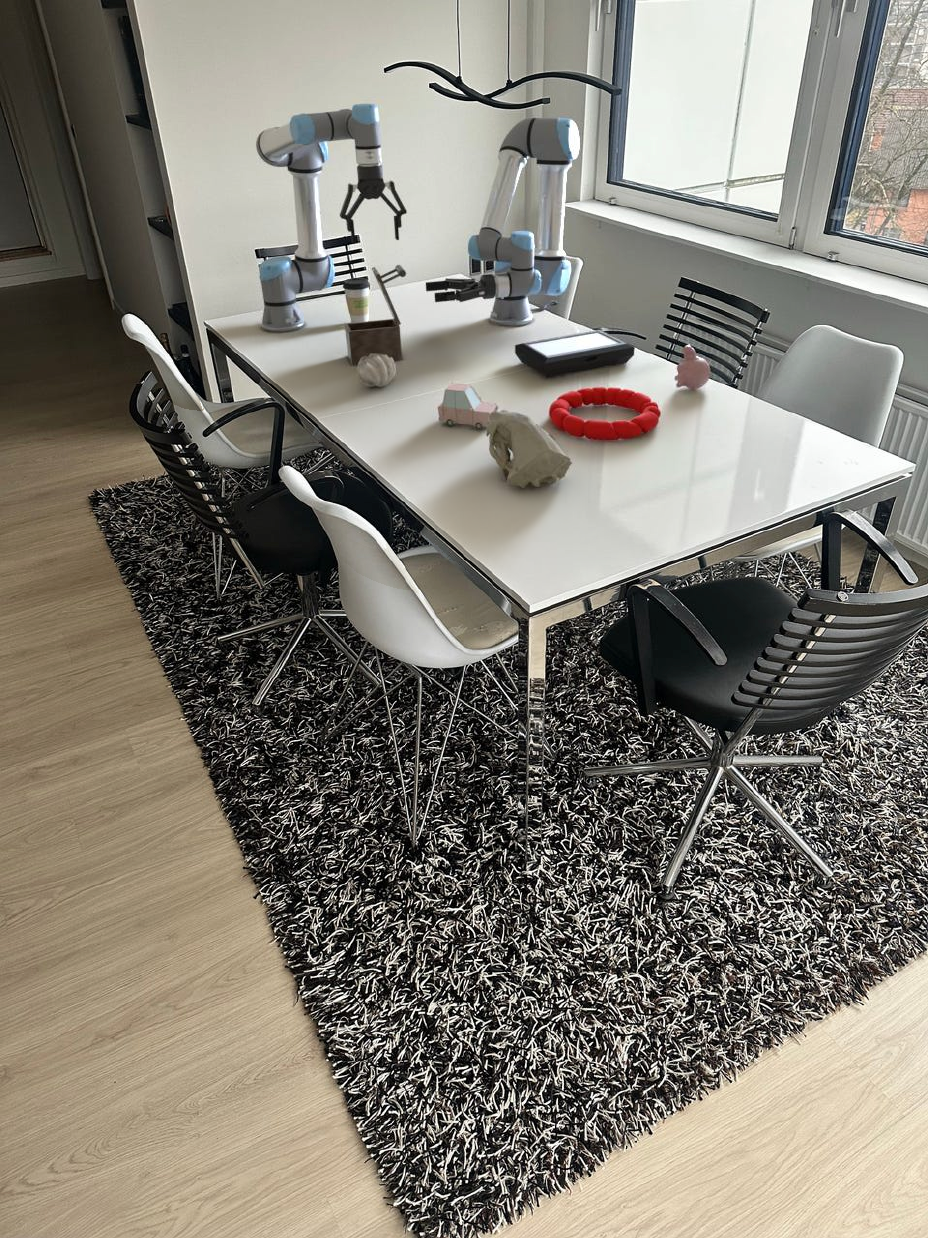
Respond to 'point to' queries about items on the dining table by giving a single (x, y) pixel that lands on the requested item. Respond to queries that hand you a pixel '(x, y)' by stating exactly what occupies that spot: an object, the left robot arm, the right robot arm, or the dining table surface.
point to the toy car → (465, 406)
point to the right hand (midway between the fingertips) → (430, 292)
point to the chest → (373, 339)
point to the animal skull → (525, 450)
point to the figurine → (692, 370)
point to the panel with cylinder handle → (400, 272)
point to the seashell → (376, 369)
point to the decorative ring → (604, 428)
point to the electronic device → (574, 353)
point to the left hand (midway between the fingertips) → (375, 240)
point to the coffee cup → (357, 298)
